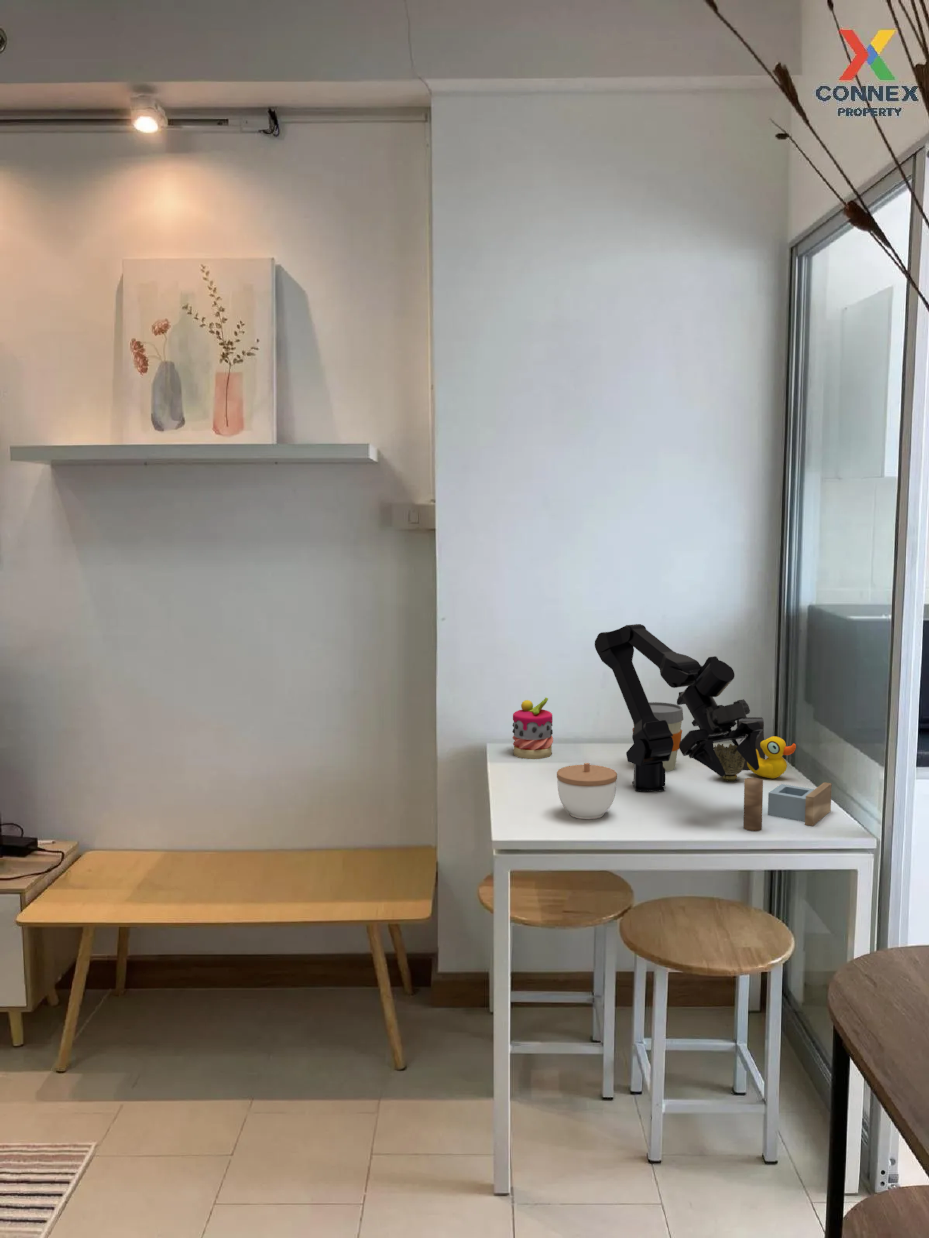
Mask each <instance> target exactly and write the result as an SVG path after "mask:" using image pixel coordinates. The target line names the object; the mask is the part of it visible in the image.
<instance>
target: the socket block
mask: <svg viewBox="0 0 929 1238" xmlns="http://www.w3.org/2000/svg"><path fill="white" fill-rule="evenodd" d="M815 789H816V788H811V787H810V788H809V787H803V786H797V785H791V784H784V783H781V784H779V785H778V786H777V787H775V788H774V789H772V790H769V792H768V793H767V795H768V797H767V798H768V799H767V801H768V802H767V804H768V805H767V816H771V817H776V818H780V819H781V818H782V819H788V820H792V821H797V822H798V821H799V822H804V823H805V805H806V796H807V795H808V794H809V793H811V792H812V791H813V790H815Z"/></svg>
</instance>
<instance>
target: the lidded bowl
mask: <svg viewBox="0 0 929 1238" xmlns="http://www.w3.org/2000/svg"><path fill="white" fill-rule="evenodd" d="M556 778H557V791H558V797H559V798H558V799H559V801H560V803H561V805H562V806H563V807H564V809H565V810H566V811H567V812H568V814H569V816H571V817H572V818H575V819H579V820H597V819H600V818H602V817H604V814H605V813H607V811H609V809H610V808H611V807H612V805H613V804H614V800H615V798H616V791H617V780H618V774H617V771H616V770H615V769H613V768H610V767H607V766H603V765H595V764H590V762H584V763H583V764H575V765H568V766H564V767H561V768H559V769H558V770H557V772H556Z"/></svg>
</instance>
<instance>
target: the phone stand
mask: <svg viewBox="0 0 929 1238" xmlns="http://www.w3.org/2000/svg"><path fill="white" fill-rule="evenodd" d="M746 717H747V716H746ZM749 721H757V722H759V724H760V726H761V727H762V729H763V731H762V732H761V733H760V735H759V737H758V738H757V739H756V749H757V750H758V753H759V755H760V758H762V759H766V755H765V754H764V752H763V750H762V748H761V746H760V743H761V741H763V740H765V732H764V731H765V730H764V728H765V721H764V718H763V717H761V716H760V717H758V716H757V717H751V716H750V717H747V718H745V719H743V718H742V719H739V720H737V721H736V723H737V724H736V728H737V727H738V726H739V725H740V724H741V723H742V722H749ZM742 771H751V770H750V769H749V768H748V765H747V761H746V760H745V762H744V767H743V769H742Z"/></svg>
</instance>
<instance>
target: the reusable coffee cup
mask: <svg viewBox="0 0 929 1238" xmlns="http://www.w3.org/2000/svg"><path fill="white" fill-rule="evenodd" d="M648 702H649V701H648ZM649 704H650V707H651V709H652V712H653V714H654V716H655V717H656V718H657V719H658V720H659V721H660V720H666V722H667V723H668V726H669V730H670V731H671V733H672V734H673V736H672V739H673V743H674V745H673V749H672V752H671V756H670V759H669V761H664V762H663V767H664V768H665V772H670V771H674V770H675V769H676V765H677V764H676V762H677V757H678V751H679V750H680V749H679V743H680V742H681V740H682V735H683V730H682V722H683V721H684V709H683V706H681V705H677V703H676V704H675V703H672V702H671V703H670V702H659V701H658V702H657V701H655V702H654V701H651V702H649ZM632 723H633V722H632ZM633 725H634V723H633ZM633 730H634V727H632V731H633Z"/></svg>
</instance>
